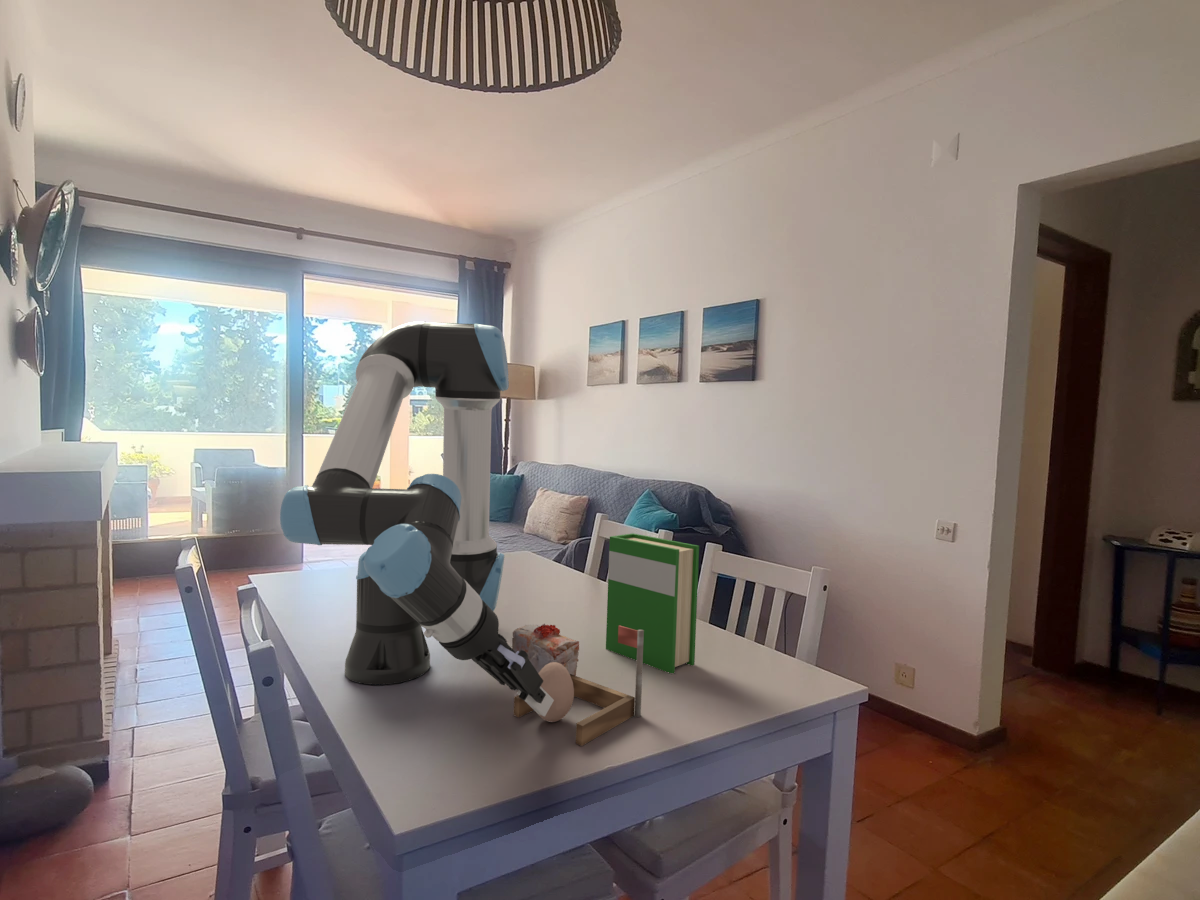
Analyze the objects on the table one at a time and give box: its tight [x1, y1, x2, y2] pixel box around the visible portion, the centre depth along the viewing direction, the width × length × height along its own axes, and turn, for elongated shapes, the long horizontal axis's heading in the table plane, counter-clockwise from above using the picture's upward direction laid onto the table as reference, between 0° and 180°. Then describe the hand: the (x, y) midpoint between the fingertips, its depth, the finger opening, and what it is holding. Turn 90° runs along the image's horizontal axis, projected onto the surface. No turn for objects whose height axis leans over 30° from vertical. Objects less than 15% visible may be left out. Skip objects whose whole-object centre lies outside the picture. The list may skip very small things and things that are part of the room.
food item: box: [511, 623, 580, 676], centre depth 115 cm, size 14×8×10 cm, turn 46°
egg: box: [537, 662, 575, 723], centre depth 98 cm, size 7×7×9 cm
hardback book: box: [605, 532, 700, 674], centre depth 127 cm, size 18×7×24 cm, turn 45°
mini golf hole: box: [513, 626, 644, 747], centre depth 100 cm, size 15×14×14 cm
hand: (545, 706), depth 93 cm, fingers closed
